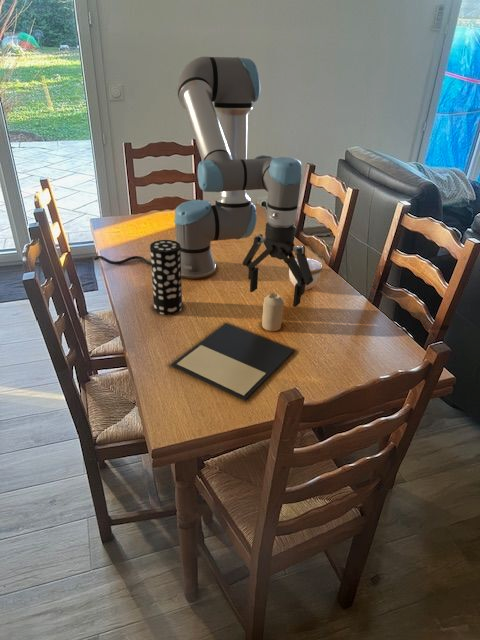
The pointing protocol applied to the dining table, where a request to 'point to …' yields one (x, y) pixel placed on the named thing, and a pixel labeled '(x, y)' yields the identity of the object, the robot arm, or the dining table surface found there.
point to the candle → (272, 312)
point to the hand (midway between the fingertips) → (274, 297)
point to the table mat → (233, 360)
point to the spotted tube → (166, 276)
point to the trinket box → (315, 271)
